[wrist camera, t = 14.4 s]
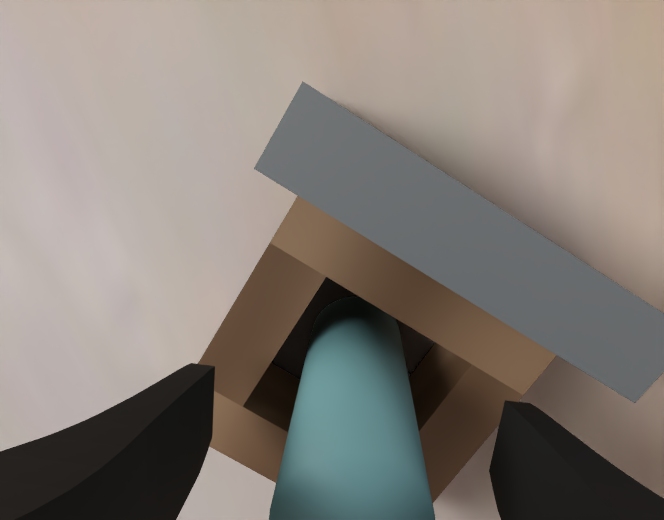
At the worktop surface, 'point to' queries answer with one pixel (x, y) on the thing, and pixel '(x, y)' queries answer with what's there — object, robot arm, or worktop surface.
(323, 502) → the dowel
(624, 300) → the board
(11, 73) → the worktop surface
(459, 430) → the brown square frame
